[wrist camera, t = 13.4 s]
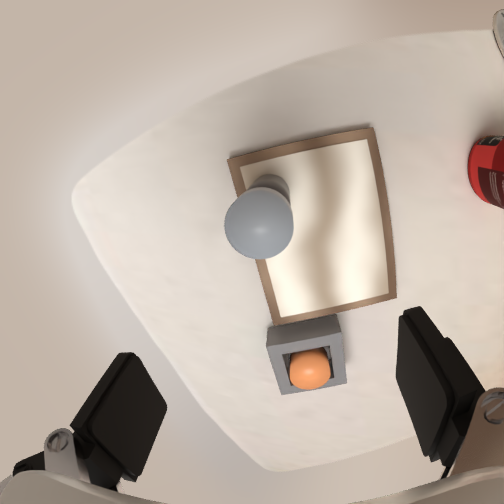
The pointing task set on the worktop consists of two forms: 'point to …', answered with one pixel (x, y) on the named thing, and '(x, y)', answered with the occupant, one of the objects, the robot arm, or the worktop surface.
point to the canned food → (488, 169)
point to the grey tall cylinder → (261, 219)
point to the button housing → (304, 339)
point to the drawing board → (326, 225)
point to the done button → (309, 368)
